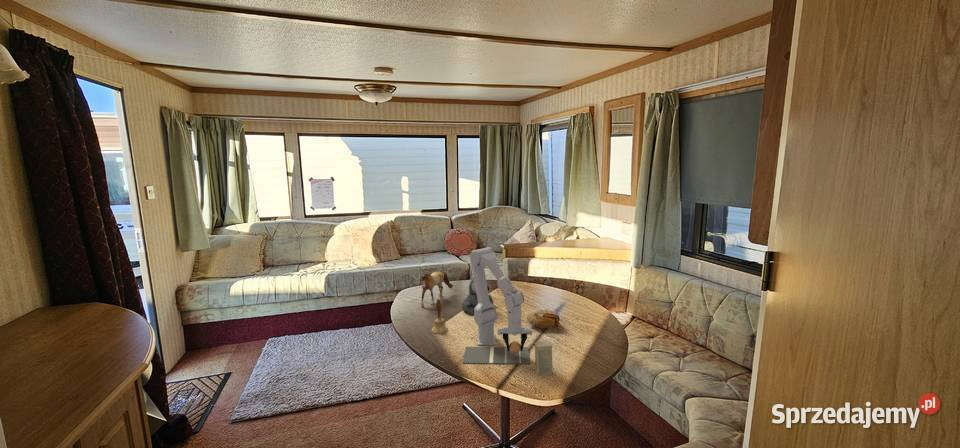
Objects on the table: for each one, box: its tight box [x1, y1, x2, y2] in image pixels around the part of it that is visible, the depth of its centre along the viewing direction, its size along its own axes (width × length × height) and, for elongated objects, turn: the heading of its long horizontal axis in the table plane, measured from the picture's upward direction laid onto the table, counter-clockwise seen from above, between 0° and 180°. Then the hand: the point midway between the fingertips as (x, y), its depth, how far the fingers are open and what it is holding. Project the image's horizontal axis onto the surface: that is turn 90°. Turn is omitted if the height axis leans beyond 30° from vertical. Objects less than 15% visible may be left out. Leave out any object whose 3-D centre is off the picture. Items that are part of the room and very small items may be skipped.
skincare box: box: [534, 340, 554, 376], centre depth 153 cm, size 6×4×12 cm
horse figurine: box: [420, 271, 455, 308], centre depth 233 cm, size 31×8×21 cm, turn 152°
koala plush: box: [461, 275, 494, 315], centre depth 217 cm, size 17×18×20 cm
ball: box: [509, 340, 521, 354], centre depth 165 cm, size 5×5×5 cm
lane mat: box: [461, 346, 531, 365], centre depth 168 cm, size 14×28×1 cm, turn 86°
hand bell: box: [431, 298, 449, 335], centre depth 193 cm, size 8×8×16 cm
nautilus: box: [526, 309, 566, 333], centre depth 193 cm, size 8×22×15 cm
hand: (515, 350), depth 166 cm, fingers closed on ball, 5 cm apart
